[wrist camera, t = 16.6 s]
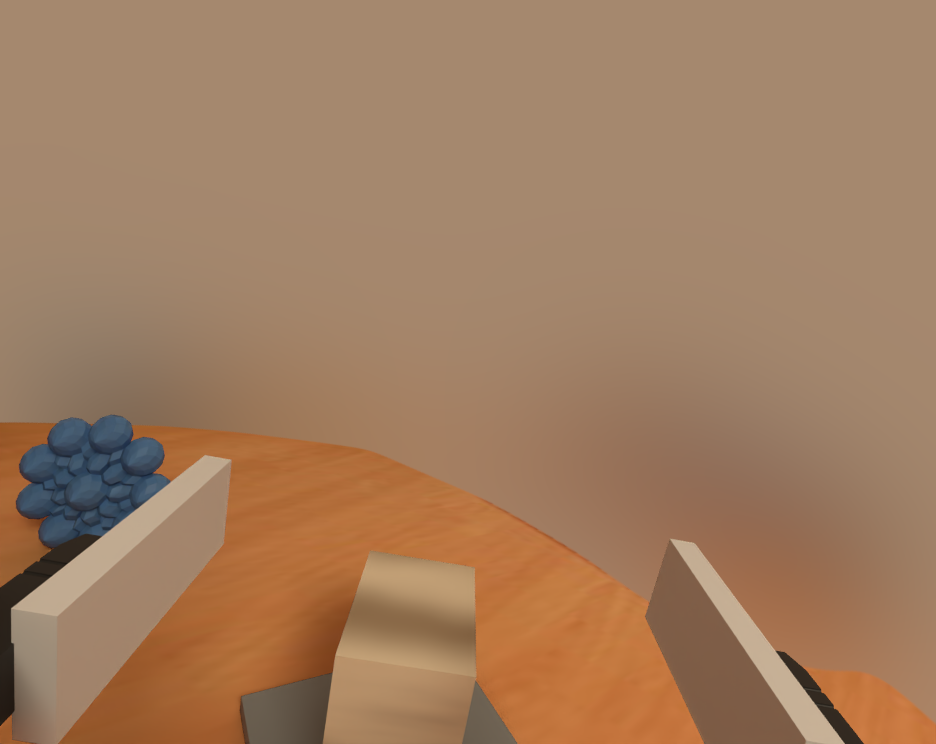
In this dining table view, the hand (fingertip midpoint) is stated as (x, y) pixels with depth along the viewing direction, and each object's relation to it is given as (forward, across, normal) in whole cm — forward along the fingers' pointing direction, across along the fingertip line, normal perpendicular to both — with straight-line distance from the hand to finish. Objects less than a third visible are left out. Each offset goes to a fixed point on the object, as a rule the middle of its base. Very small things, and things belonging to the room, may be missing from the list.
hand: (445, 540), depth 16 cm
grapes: (+24, -26, -21) cm, 41 cm away
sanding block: (+9, 0, -19) cm, 21 cm away
